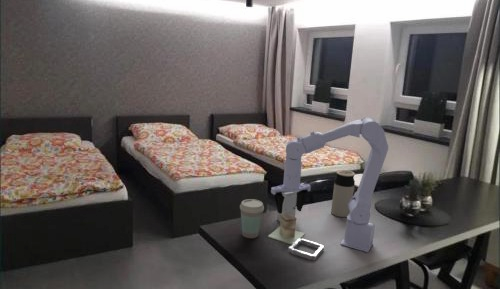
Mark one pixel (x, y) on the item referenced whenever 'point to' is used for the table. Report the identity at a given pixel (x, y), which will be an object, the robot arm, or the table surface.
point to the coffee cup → (251, 217)
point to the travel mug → (342, 192)
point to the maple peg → (287, 225)
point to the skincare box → (288, 204)
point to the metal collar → (304, 254)
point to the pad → (279, 237)
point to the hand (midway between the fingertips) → (289, 211)
